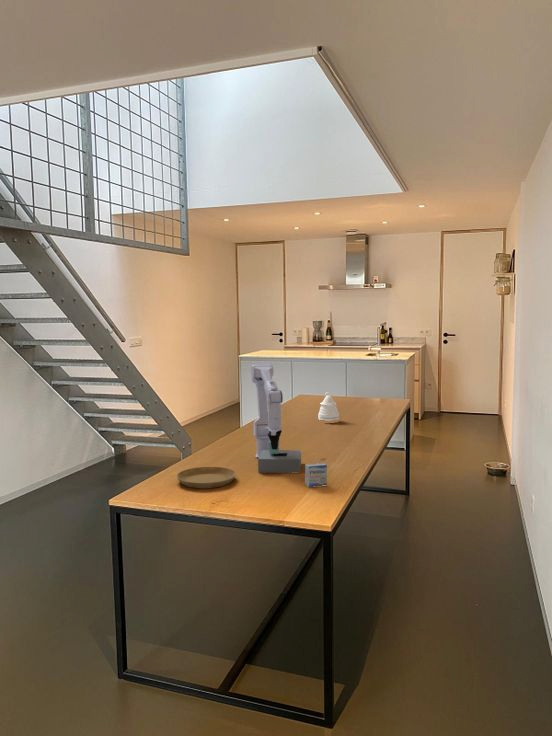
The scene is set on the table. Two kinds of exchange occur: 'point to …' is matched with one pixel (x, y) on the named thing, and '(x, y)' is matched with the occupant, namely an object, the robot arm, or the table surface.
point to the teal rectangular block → (273, 451)
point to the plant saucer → (206, 477)
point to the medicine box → (315, 474)
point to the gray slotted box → (279, 461)
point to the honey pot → (328, 409)
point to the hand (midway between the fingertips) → (275, 447)
